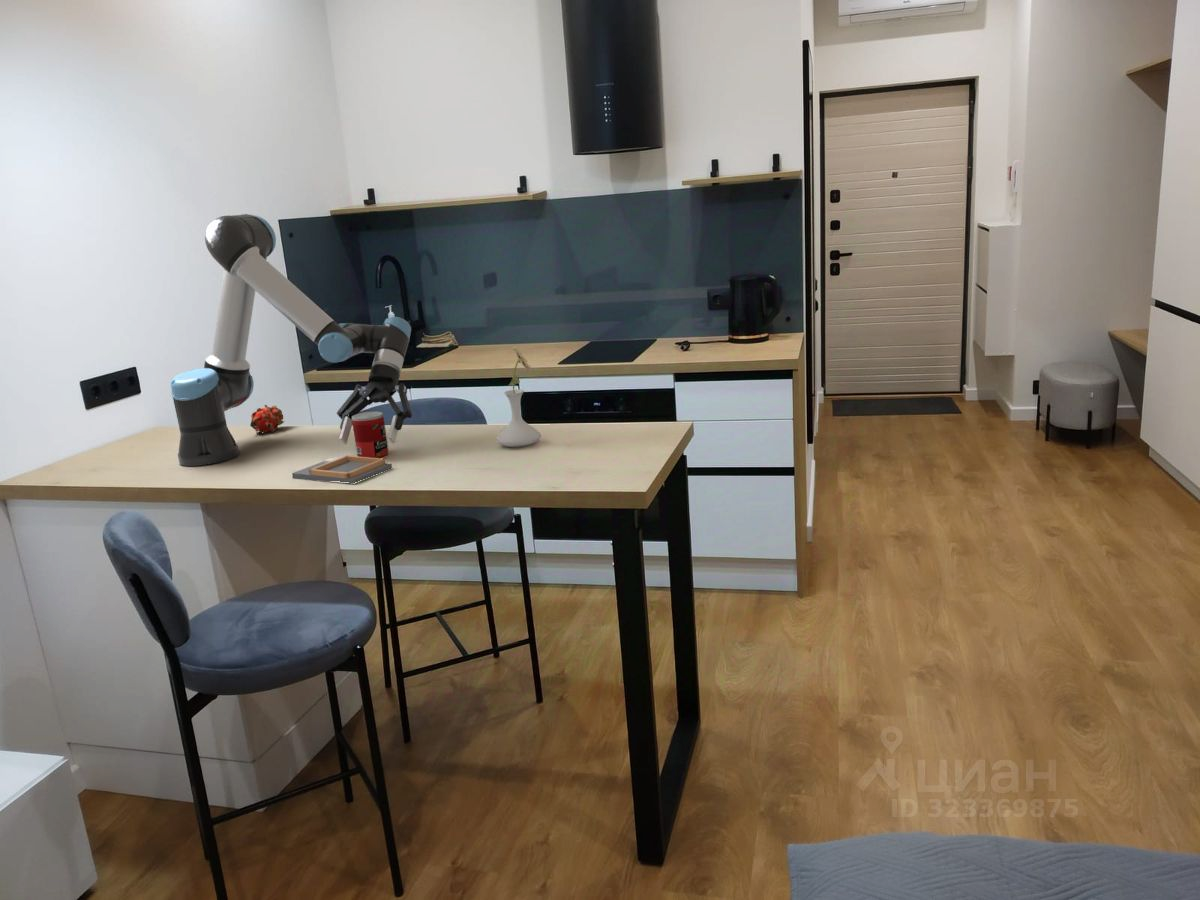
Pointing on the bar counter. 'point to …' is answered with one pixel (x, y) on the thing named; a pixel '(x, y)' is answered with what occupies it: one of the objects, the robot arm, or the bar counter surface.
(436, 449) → the bar counter surface
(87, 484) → the bar counter surface
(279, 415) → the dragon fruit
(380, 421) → the canned food
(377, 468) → the plate
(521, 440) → the flower in vase
